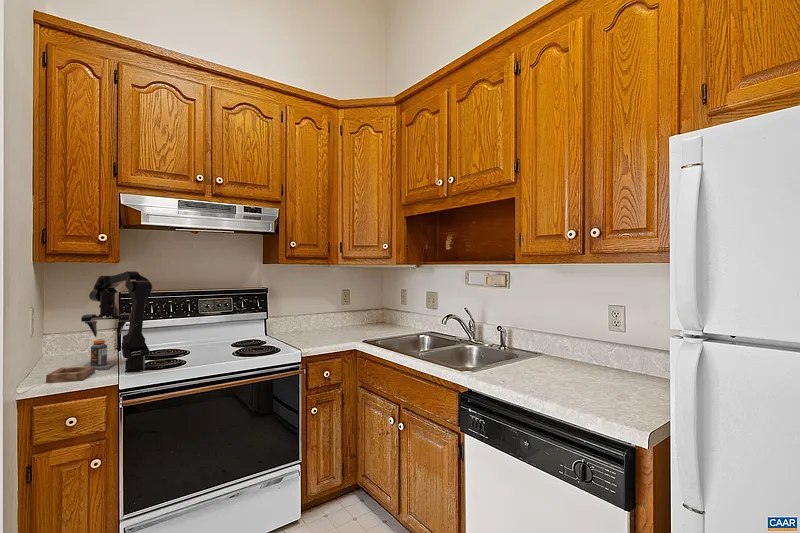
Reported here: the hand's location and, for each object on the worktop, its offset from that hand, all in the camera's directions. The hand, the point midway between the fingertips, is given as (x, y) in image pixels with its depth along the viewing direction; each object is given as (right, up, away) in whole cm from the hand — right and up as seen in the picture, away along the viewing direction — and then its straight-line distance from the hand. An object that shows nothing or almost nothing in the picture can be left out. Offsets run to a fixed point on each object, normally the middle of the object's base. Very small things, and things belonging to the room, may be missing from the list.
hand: (107, 336), depth 191 cm
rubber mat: (+1, -13, -7) cm, 15 cm away
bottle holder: (+2, -13, -23) cm, 27 cm away
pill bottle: (+1, -12, -7) cm, 14 cm away
